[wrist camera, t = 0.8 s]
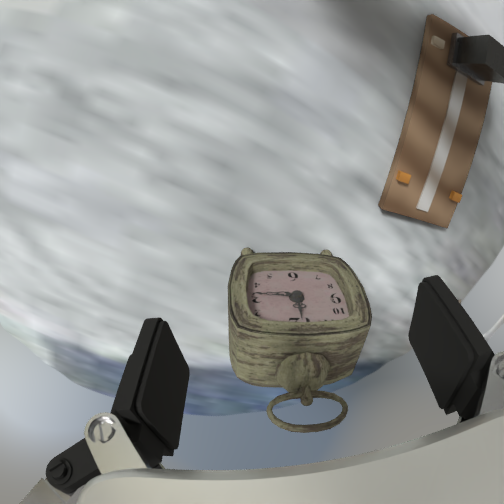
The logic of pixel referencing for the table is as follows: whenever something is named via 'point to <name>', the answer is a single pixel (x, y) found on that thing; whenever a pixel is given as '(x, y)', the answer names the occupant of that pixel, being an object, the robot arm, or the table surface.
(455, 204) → the fader board
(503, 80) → the fader slider
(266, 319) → the tabletop clock
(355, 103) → the table surface
